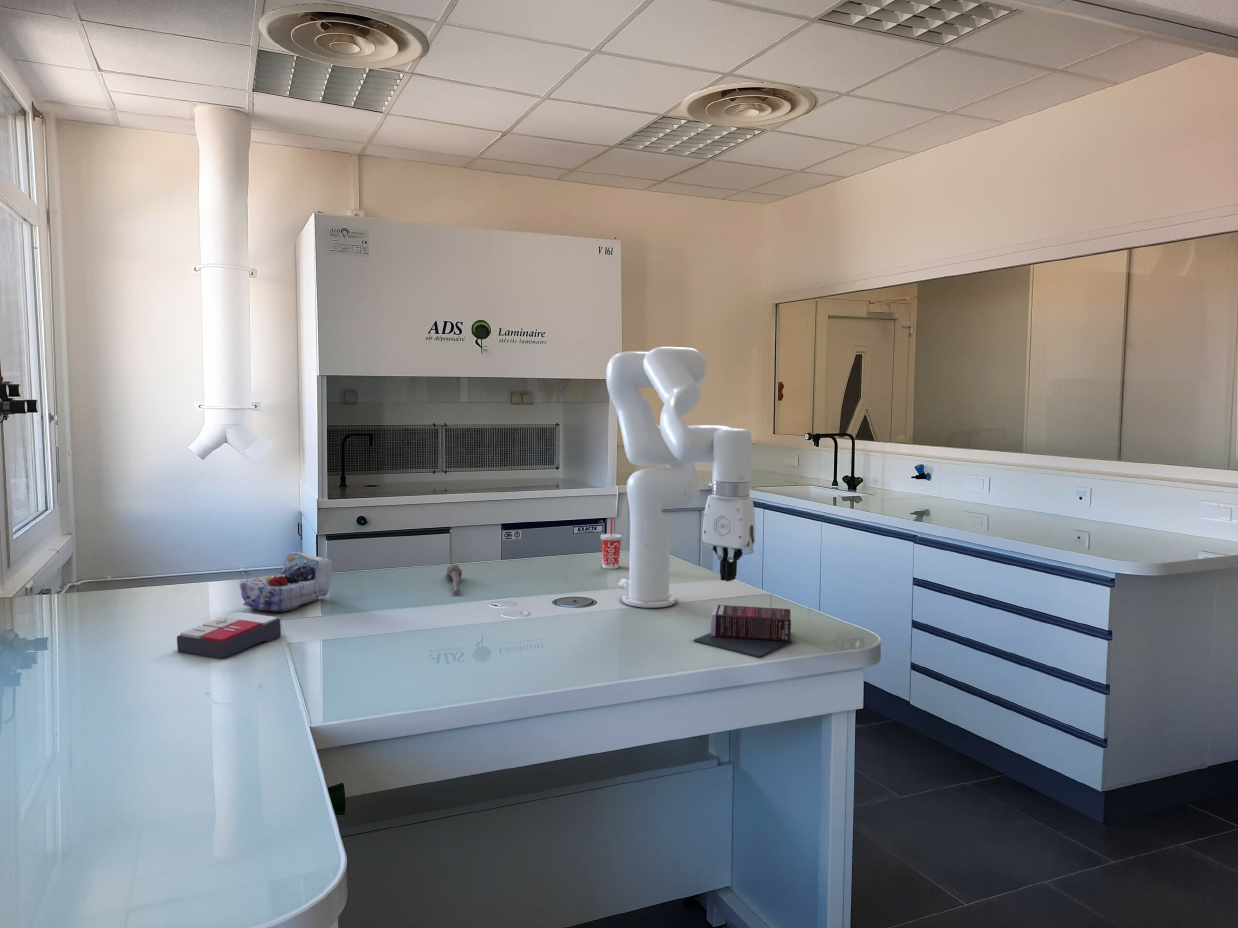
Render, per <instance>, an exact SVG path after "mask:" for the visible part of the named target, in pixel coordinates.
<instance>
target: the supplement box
mask: <svg viewBox="0 0 1238 928" xmlns="http://www.w3.org/2000/svg"><path fill="white" fill-rule="evenodd" d="M791 630H792V616H791V609H790V608H777V607H760V606H744V605H730V604H729V605H728V604H727V605H726V604H714V606H713V609H712V612H711V620H710V633H711V636H717V637H732V638H746V639H760V640H775V641H790V640H791V633H792V631H791Z"/></svg>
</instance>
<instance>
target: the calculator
mask: <svg viewBox="0 0 1238 928" xmlns="http://www.w3.org/2000/svg"><path fill="white" fill-rule="evenodd" d="M280 637H282V627H281V618H279V617H277V616H270V615H263V614H255V613H249V612H243V611H242V612H241V611H235V612H233V613H230V614H228V615H225V616H220V617H217V618H215V619H213V620H210V621H208V622H205V623H203V624H202V625H197V626H195V627H192V628H189V629H187V630H184V631H181V632H180V634H179V635H177V636H176V646H177V652H179V653H184V654H190V655H197V656H204V657H208V658H209V657H210V658H213V659H220V660H222V659H226V658H228V657H230V656H233V655H235V654H238V653H239V652H241V651H244V650H246V649H248V648H250V647H253V646H255V645H257V644H259V643H262V642H267V643H268V642H271V641H273V640H275V639H277V638H280Z"/></svg>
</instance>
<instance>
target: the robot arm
mask: <svg viewBox="0 0 1238 928" xmlns="http://www.w3.org/2000/svg"><path fill="white" fill-rule="evenodd" d="M706 372H707V363H706V360H705V358H704V356H703V354H702V353H701V352H700V351H699V350H697V349H696V348H692V347H680V346H679V347H677V346H658V347H654V348H652V349H651V350H649V351H638V350H637V351H635V350H634V351H633V350H632V351H631V350H629V351H622V352H618V353H616V354H614V355H613V356H611V358H610V359H609V360H608V363H607V366H606V371H605V373H606V374H605V375H606V376H605V379H606V381H605V382H606V387H607V391H608V392H607V393H608V395H609V397H610V399H611V402H612V404H613V407H614V409H615V411H616V415H617V418H618V423H619V424H618V425H619V428H620V432H621V437H622V443H623V448H624V451H625V456H626V459H627V460H628V462H629V463H630V464H632V465H634V466H640V467H644V466H645V467H647V466H649V467H651V466H652V467H653V466H666V468H665V467H657V468H654V467H653V468H643V469H639V470H636V471H634V472H632V474H631V475H630V476H629V477H628V478H627V481H626V495H627V501H628V509H629V561H628V562H629V568H628V569H629V570H628V579H626V578H621V579H620V580H619V582H618V583H617V588H618V589H622V590H623V589H624V593H623V594H622V596H621V601H622V603H624V604H626V605H627V606H631V607H637V608H646V609H657V608H659V609H661V608H667V607H670V606H673V605H674V604H675V603H676V596H675V595H673V594H672V593H670V572H671V571H670V570H671V569H670V568H671V566H670V564H671V526H670V523H669V521H668V519H667V517H666V516H665V514H664V512H663V510H666V509H680V508H682V509H683V508H688V507H691V506H693V505H694V504H695V503H696V502H697V501H698V499H699V496H700V482H699V477H698V472H697V468H696V464H695V463H700V462H701V463H702V462H703V463H704V462H709V463H712V477H711V478H712V480H711V481H708V482H707V488H708V489H710V490H711V494H709V495H708V496H707V499H706V503H705V507H704V513H703V521H702V534H701V535H702V536H701V537H702V541H703V542H704V543H705V544H704V546H705V548H707V549H709V550H711V551H713V552H714V553H715V555H716V556H717V560H718V561H719V576H720V581H725V582H731V581H734V580H736V578H737V575H738V574H737V573H738V570H737V569H738V561H739V560H740V558H742V557H743V556H747V555H751V554H754V552H755V551H754V544H755V542H756V514H755V508H754V506H755V505H754V501H753V497H750V495H751V491H750V490H751V468H752V467H751V466H752V465H751V464H752V434H751V432H750V431H749V430H748V429H745V428H735V427H730V426H728V425H709V424H706V425H704V424H699V425H698V424H697V425H695V424H693V425H692V424H691V425H688V424H687V423H686V422H685V421H684V419H683V418H682V416H684V415H685V414H687V413H689V412H691V411H692V410H693V409H694V408H696V406H697V405H698V403H699V402H700V400H701V396H702V393H701V388H700V385H698V384H700V383H701V382H702V381H703V379H704V378H705V376H706ZM638 388H654V390H655V392H656V394H657V395H658V397H659V398H660V400H661V402H662V403H663V406H662V409H661V412H660V416H659V424H658V423H657V422H656V419H655V414H654V410H653V407H652V405H651V404H650V402H649V401H648V399H647V397H646V396H645V395H644V394H643V393H642V392H641V391H640V390H638Z"/></svg>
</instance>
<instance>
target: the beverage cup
mask: <svg viewBox="0 0 1238 928" xmlns="http://www.w3.org/2000/svg"><path fill="white" fill-rule="evenodd" d="M622 539H623V535H622V534H619V533H613V517H610V533H603V534H600V540H601V562H602V568H603V569H608V570H615V569H619V568H620V557H621V556H620V555H621V545H622V543H621V542H622Z"/></svg>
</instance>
